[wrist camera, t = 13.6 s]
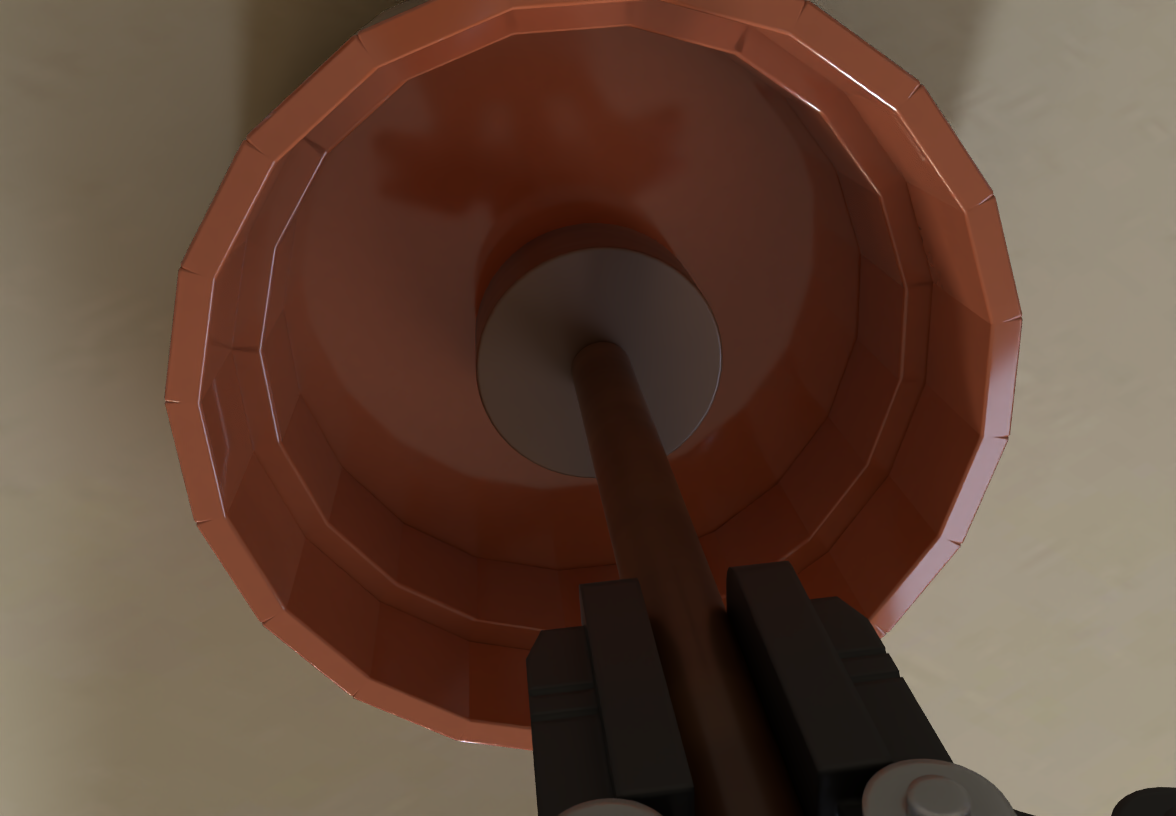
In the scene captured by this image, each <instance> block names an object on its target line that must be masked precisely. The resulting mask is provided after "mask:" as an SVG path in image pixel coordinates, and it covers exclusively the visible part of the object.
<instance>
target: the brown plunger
mask: <svg viewBox="0 0 1176 816" xmlns="http://www.w3.org/2000/svg"><path fill="white" fill-rule="evenodd" d="M475 353H476V380H477V386H478V391H479V395H480V398H481V401H482V404H483V407H484V410H485V412H486V414H487V416H488V418H489V420H490V422H491V423H492V425H493V426H494V427H495V429H496V430H497V432H498V433H499V435H500V436H501V437H502V438H503V439H504V440H505V441H506V442H507V443H508V444H509V445H510V446H511V447H512V448H513V449H514V450H516V451H517V452H518V453H519V454H520V455H522V456H523V457H525V458H527V459H528V460H530V461H531V462H533V463H535V464H537V465H539V466H541V467H543V468H546V469H548V470H551V471H554V472H557V473H560V474H563V475H569V476H574V477H582V478H596V480H597V484H598V488H599V492H600V496H601V501H602V505H603V509H604V513H605V518H606V522H607V526H608V530H609V534H610V539H611V543H612V547H613V551H614V556H615V560H616V564H617V568H618V572H619V577H620V580H621V579H629V578H638V580H639V583H640V587H641V590H642V594H643V598H644V602H645V605H646V609H647V613H648V617H649V620H650V624H651V628H652V631H653V635H654V639H655V643H656V646H657V650H658V654H659V658H660V661H661V665H662V669H663V673H664V676H665V680H666V684H667V687H668V691H669V695H670V699H671V702H672V706H673V710H674V714H675V717H676V721H677V725H678V729H679V732H680V736H681V740H682V743H683V747H684V751H685V755H686V758H687V762H688V766H689V770H690V773H691V777H692V781H693V784H694V797H695V816H805V815H804V812H803V810H802V807H801V804H800V802H799V799H798V797H797V794H796V791H795V789H794V786H793V784H792V781H791V778H790V776H789V773H788V771H787V768H786V765H785V763H784V760H783V758H782V755H781V752H780V750H779V747H778V745H777V742H776V739H775V737H774V734H773V732H772V729H771V726H770V724H769V721H768V719H767V716H766V713H765V711H764V708H763V706H762V703H761V700H760V698H759V695H758V693H757V690H756V687H755V685H754V682H753V680H752V677H751V674H750V672H749V669H748V667H747V664H746V661H745V659H744V656H743V654H742V651H741V648H740V646H739V643H738V641H737V638H736V635H735V633H734V630H733V628H732V625H731V622H730V620H729V617H728V615H727V611H726V609H725V606H724V604H723V601H722V598H721V596H720V593H719V591H718V588H717V585H716V583H715V580H714V578H713V575H712V572H711V570H710V567H709V565H708V562H707V559H706V557H705V554H704V552H703V549H702V546H701V544H700V541H699V539H698V536H697V534H696V531H695V528H694V526H693V523H692V521H691V518H690V515H689V513H688V510H687V508H686V505H685V502H684V500H683V497H682V495H681V492H680V489H679V487H678V484H677V482H676V479H675V476H674V474H673V471H672V469H671V466H670V463H669V461H668V458H667V456H668V455H669V454H671V453H672V452H674V451H675V450H676V449H678V448H679V447H680V446H681V445H682V444H683V443H684V442H685V441H686V440H687V439H689V438H690V436H691V435H692V434H693V433H694V432H695V430H696V429H697V428H698V427H699V426H700V424H701V422H702V421H703V419H704V418H705V416H706V415H707V413H708V411H709V409H710V407H711V405H712V403H713V401H714V399H715V396H716V393H717V390H718V387H719V383H720V378H721V372H722V360H723V352H722V341H721V336H720V332H719V327H718V324H717V321H716V319H715V316H714V314H713V311H712V309H711V308H710V306H709V304H708V302H707V300H706V299H705V297H704V295H703V294H702V292H701V291H700V289H699V288H698V286H697V285H696V283H695V282H694V280H693V279H692V277H691V276H690V274H689V273H688V272H687V270H686V269H685V268H684V266H683V265H682V264H681V262H680V261H679V260H678V259H677V258H676V257H675V256H674V255H673V254H672V253H671V252H670V251H669V250H668V249H667V248H665V247H664V246H663V245H661V244H660V243H659V242H657V241H656V240H654V239H652V238H650V237H648V236H647V235H645V234H643V233H640V232H638V231H635V230H633V229H630V228H626V227H622V226H618V225H613V224H604V223H582V224H576V225H570V226H565V227H562V228H558V229H555V230H552V231H550V232H547V233H545V234H543V235H540V236H538V237H536V238H535V239H533V240H531V241H530V242H528V243H526V244H525V245H523V246H522V247H521V248H520V249H518V250H517V251H516V252H515V253H513V254H512V255H511V256H510V257H509V258H508V259H507V260H506V261H505V262H504V263H503V264H502V266H501V267H500V268H499V270H498V271H497V272H496V274H495V275H494V276H493V278H492V280H491V281H490V283H489V285H488V287H487V289H486V290H485V293H484V295H483V298H482V301H481V303H480V307H479V311H478V315H477V320H476V330H475Z"/></svg>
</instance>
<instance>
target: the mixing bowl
mask: <svg viewBox="0 0 1176 816" xmlns="http://www.w3.org/2000/svg"><path fill="white" fill-rule="evenodd" d="M582 223H604V224H613V225H618V226H622V227H626V228H630V229H633V230H635V231H638V232H640V233H643V234H645V235H647V236H648V237H650V238H652V239H654V240H656V241H657V242H659V243H660V244H661V245H663V246H664V247H665V248H667V249H668V250H669V251H670V252H671V253H672V254H673V255H674V256H675V257H676V258H677V259H678V260H679V261H680V262H681V264H682V265H683V266H684V268H685V269H686V270H687V272H688V273H689V274H690V276H691V277H692V279H693V280H694V282H695V283H696V285H697V286H698V288H699V289H700V291H701V292H702V294H703V295H704V297H705V299H706V300H707V302H708V304H709V306H710V308H711V309H712V311H713V314H714V316H715V319H716V321H717V324H718V327H719V332H720V336H721V341H722V352H723V360H722V372H721V378H720V383H719V387H718V390H717V393H716V396H715V399H714V401H713V403H712V405H711V407H710V409H709V411H708V413H707V415H706V416H705V418H704V419H703V421H702V422H701V424H700V426H699V427H698V428H697V429H696V430H695V432H694V433H693V434H692V435H691V436H690V438H689V439H687V440H686V441H685V442H684V443H683V444H682V445H681V446H680V447H679V448H678V449H676V450H675V451H674V452H672V453H671V454H669V455H668V456H667V458H668V461H669V463H670V466H671V469H672V471H673V474H674V476H675V479H676V482H677V484H678V487H679V489H680V492H681V495H682V497H683V500H684V502H685V505H686V508H687V510H688V513H689V515H690V518H691V521H692V523H693V526H694V528H695V531H696V534H697V536H698V539H699V541H700V544H701V546H702V549H703V552H704V554H705V557H706V559H707V562H708V565H709V567H710V570H711V572H712V575H713V578H714V580H715V583H716V585H717V588H718V591H719V593H720V596H721V598H722V601H723V604H724V606H725V609H726V611H727V601H726V578H727V571H728V568H729V567H735V566H744V565H753V564H762V563H771V562H779V561H789V562H790V563H791V565H792V566H793V568H794V570H795V572H796V574H797V576H798V578H799V580H800V582H801V583H802V585H803V587H804V589H805V591H806V593H807V595H808V597H809V599H816V598H825V597H834V596H837V597H839V598H840V599H842V600H843V601H844V602H846V603H847V604H848V605H850V606H851V607H853V608H854V609H855V610H857V611H858V612H859V613H861V614H862V615H864V616H865V617H866V618H868V619H869V621H870V623H871V624H872V626H873V628H874V629H875V631H876V633H877V634H878V636H879V638H880V639H881V638H882V637H884V636H885V635H886V632H889V631H890V630H891V629H892V628H893V627H894V625H895V624H896V623H897V622H898V621H899V620H900V618H901V617H902V616H903V615H904V614H905V612H906V611H907V610H908V609H909V608H910V606H911V605H912V604H913V603H914V602H915V600H916V599H917V598H918V597H919V596H920V594H921V593H922V592H923V591H924V590H925V588H926V587H927V586H928V585H929V584H930V582H931V581H932V580H933V579H934V578H935V576H936V575H937V574H938V573H939V572H940V570H941V569H942V568H943V567H944V566H945V564H946V563H947V562H948V561H949V560H950V558H951V557H952V556H953V555H954V554H955V552H956V551H957V550H958V549H959V548H960V546H961V543H963V541H964V539H965V537H966V535H967V532H968V530H969V528H970V526H971V523H972V521H973V519H974V517H975V514H976V512H977V510H978V508H979V505H980V503H981V501H982V498H983V496H984V494H985V492H986V489H987V487H988V485H989V483H990V480H991V478H992V476H993V474H994V471H995V469H996V467H997V464H998V462H999V460H1000V458H1001V455H1002V453H1003V451H1004V449H1005V446H1006V444H1007V442H1008V436H1009V435H1010V430H1011V421H1012V411H1013V402H1014V393H1015V384H1016V375H1017V366H1018V357H1019V347H1020V338H1021V329H1022V317H1021V316H1022V311H1021V307H1020V303H1019V298H1018V294H1017V290H1016V285H1015V281H1014V276H1013V272H1012V268H1011V263H1010V259H1009V255H1008V250H1007V246H1006V242H1005V237H1004V233H1003V228H1002V224H1001V220H1000V215H999V211H998V207H997V202H996V198H995V196H994V195H993V190H992V189H991V187H990V186H989V184H988V183H987V181H986V180H985V178H984V177H983V175H982V174H981V172H980V171H979V169H978V167H977V166H976V164H975V163H974V161H973V160H972V158H971V157H970V155H969V154H968V152H967V151H966V149H965V148H964V146H963V145H962V143H961V141H960V140H959V138H958V137H957V135H956V134H955V132H954V131H953V129H952V128H951V126H950V125H949V123H948V122H947V120H946V119H945V117H944V115H943V114H942V112H941V111H940V109H939V108H938V106H937V105H936V103H935V102H934V100H933V99H932V97H931V96H930V94H929V93H928V91H927V90H926V88H925V86H924V85H922V84H920V82H919V80H918V79H916V78H915V77H914V76H912V75H911V74H910V73H908V72H907V71H905V70H904V69H903V68H901V67H900V66H899V65H897V64H896V63H895V62H893V61H892V60H890V59H889V58H888V57H886V56H885V55H884V54H882V53H881V52H879V51H878V50H877V49H875V48H874V47H873V46H871V45H870V44H868V43H867V42H866V41H864V40H863V39H862V38H860V37H859V36H858V35H856V34H855V33H853V32H852V31H851V30H849V29H848V28H847V27H845V26H844V25H842V24H841V23H840V22H838V21H837V20H836V19H834V18H833V17H831V16H830V15H829V14H827V13H826V12H825V11H823V10H822V9H820V8H819V7H818V6H816V5H815V4H814V3H812V2H811V1H808V0H407V1H405V2H403V3H400V4H398V5H396V6H394V7H391V8H389V9H387V10H384V11H383V12H382V13H381V14H379V15H377V16H376V17H375V18H374V19H372V20H371V21H370V22H369V23H368V24H366V25H365V26H364V27H362V28H361V29H360V30H359V31H357V32H356V33H355V34H354V35H352V36H351V37H350V38H349V39H348V40H347V41H346V42H345V43H344V44H343V45H342V46H341V47H340V48H339V49H337V50H336V51H335V52H334V53H333V54H332V55H331V56H330V57H329V58H328V59H327V60H326V61H325V62H324V63H323V64H322V65H320V66H319V67H318V68H317V69H316V70H315V71H314V72H313V73H312V74H311V75H310V76H309V77H308V78H307V79H306V80H304V81H303V82H302V83H301V84H300V85H299V86H298V87H297V88H296V89H295V90H294V91H293V92H292V93H291V94H290V95H289V96H287V97H286V98H285V99H284V100H283V101H282V102H281V103H280V104H279V105H278V106H277V107H276V108H275V109H274V110H273V111H272V112H270V113H269V114H268V115H267V116H266V117H265V118H264V119H263V120H262V121H261V122H260V123H259V124H258V125H257V126H256V127H255V128H253V129H252V130H251V131H250V132H249V133H248V134H247V136H246V138H245V139H244V140H243V141H242V142H241V144H240V146H239V148H238V150H237V152H236V154H235V156H234V158H233V160H232V162H231V164H230V166H229V168H228V170H227V172H226V174H225V176H224V178H223V180H222V182H221V184H220V186H219V188H218V190H217V192H216V194H215V196H214V198H213V200H212V202H211V204H210V206H209V208H208V210H207V212H206V214H205V216H204V218H203V220H202V222H201V224H200V226H199V228H198V230H197V232H196V234H195V236H194V238H193V240H192V242H191V244H190V246H189V248H188V249H187V251H186V253H185V255H184V257H183V259H182V261H181V267H180V268H179V270H178V277H177V287H176V296H175V305H174V314H173V323H172V332H171V341H170V350H169V359H168V368H167V377H166V386H165V395H164V398H165V400H166V401H165V406H166V410H167V414H168V418H169V422H170V426H171V430H172V434H173V438H174V442H175V446H176V450H177V454H178V458H179V462H180V466H181V470H182V474H183V478H184V482H185V486H186V490H187V494H188V498H189V502H190V506H191V510H192V514H193V518H194V521H195V522H196V524H197V527H198V528H199V530H200V531H201V533H202V535H203V536H204V538H205V539H206V541H207V542H208V544H209V545H210V547H211V548H212V550H213V551H214V553H215V554H216V556H217V557H218V559H219V560H220V562H221V563H222V565H223V567H224V568H225V570H226V571H227V573H228V574H229V576H230V577H231V579H232V580H233V582H234V583H235V585H236V586H237V588H238V589H239V591H240V592H241V594H242V595H243V597H244V598H245V600H246V602H247V603H248V605H249V606H250V608H251V609H252V611H253V612H254V614H255V615H256V617H257V618H258V620H259V621H260V622H262V624H263V626H264V627H265V628H267V629H268V630H269V631H270V632H272V633H273V634H274V635H275V636H277V637H278V638H279V639H280V640H282V641H283V642H284V643H285V644H287V645H288V646H289V647H290V648H292V649H293V650H294V651H295V652H297V653H298V654H299V655H300V656H302V657H303V658H304V659H305V660H306V661H308V662H309V663H310V664H311V665H313V666H314V667H315V668H316V669H318V670H319V671H320V672H321V673H323V674H324V675H325V676H326V677H328V678H329V679H330V680H331V681H333V682H334V683H335V684H336V685H338V686H339V687H340V688H341V689H343V690H344V691H345V692H346V693H348V694H349V695H350V696H353V698H354V699H357V700H359V701H362V702H364V703H366V704H369V705H371V706H374V707H376V708H379V709H381V710H383V711H386V712H388V713H391V714H393V715H396V716H398V717H400V718H403V719H405V720H408V721H410V722H413V723H415V724H417V725H420V726H422V727H425V728H427V729H430V730H432V731H434V732H437V733H439V734H442V735H444V736H447V737H449V738H451V739H454V740H456V741H459V740H460V741H462V742H469V743H477V744H485V745H492V746H500V747H508V748H516V749H524V750H532V751H533V745H532V732H531V719H530V707H529V694H528V682H527V670H526V658H527V656H528V654H529V652H530V650H531V648H532V646H533V645H534V643H535V641H536V639H537V637H538V635H539V633H540V631H541V630H550V629H558V628H567V627H575V626H582V623H581V611H580V599H579V584H586V583H594V582H603V581H612V580H620V577H619V572H618V568H617V564H616V560H615V556H614V551H613V547H612V543H611V539H610V534H609V530H608V526H607V522H606V518H605V513H604V509H603V505H602V501H601V496H600V492H599V488H598V484H597V480H596V478H582V477H574V476H569V475H563V474H560V473H557V472H554V471H551V470H548V469H546V468H543V467H541V466H539V465H537V464H535V463H533V462H531V461H530V460H528V459H527V458H525V457H523V456H522V455H520V454H519V453H518V452H517V451H516V450H514V449H513V448H512V447H511V446H510V445H509V444H508V443H507V442H506V441H505V440H504V439H503V438H502V437H501V436H500V435H499V433H498V432H497V430H496V429H495V427H494V426H493V425H492V423H491V422H490V420H489V418H488V416H487V414H486V412H485V410H484V407H483V404H482V401H481V398H480V395H479V391H478V386H477V380H476V353H475V330H476V320H477V315H478V311H479V307H480V303H481V301H482V298H483V295H484V293H485V290H486V289H487V287H488V285H489V283H490V281H491V280H492V278H493V276H494V275H495V274H496V272H497V271H498V270H499V268H500V267H501V266H502V264H503V263H504V262H505V261H506V260H507V259H508V258H509V257H510V256H511V255H512V254H513V253H515V252H516V251H517V250H518V249H520V248H521V247H522V246H523V245H525V244H526V243H528V242H530V241H531V240H533V239H535V238H536V237H538V236H540V235H543V234H545V233H547V232H550V231H552V230H555V229H558V228H562V227H565V226H570V225H576V224H582Z"/></svg>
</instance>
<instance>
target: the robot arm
mask: <svg viewBox="0 0 1176 816" xmlns="http://www.w3.org/2000/svg"><path fill="white" fill-rule="evenodd" d="M579 599H580V611H581V623H582V626H575V627H567V628H558V629H550V630H541V631H540V633H539V635H538V637H537V639H536V641H535V643H534V645H533V646H532V648H531V650H530V652H529V654H528V656H527V658H526V670H527V682H528V694H529V707H530V719H531V732H532V745H533V757H534V770H535V782H536V795H537V807H538V816H695V797H694V784H693V781H692V777H691V773H690V770H689V766H688V762H687V758H686V755H685V751H684V747H683V743H682V740H681V736H680V732H679V729H678V725H677V721H676V717H675V714H674V710H673V706H672V702H671V699H670V695H669V691H668V687H667V684H666V680H665V676H664V673H663V669H662V665H661V661H660V658H659V654H658V650H657V646H656V643H655V639H654V635H653V631H652V628H651V624H650V620H649V617H648V613H647V609H646V605H645V602H644V598H643V594H642V590H641V587H640V583H639V580H638V578H629V579H621V580H612V581H603V582H594V583H586V584H579ZM726 601H727V615H728V617H729V620H730V622H731V625H732V628H733V630H734V633H735V635H736V638H737V641H738V643H739V646H740V648H741V651H742V654H743V656H744V659H745V661H746V664H747V667H748V669H749V672H750V674H751V677H752V680H753V682H754V685H755V687H756V690H757V693H758V695H759V698H760V700H761V703H762V706H763V708H764V711H765V713H766V716H767V719H768V721H769V724H770V726H771V729H772V732H773V734H774V737H775V739H776V742H777V745H778V747H779V750H780V752H781V755H782V758H783V760H784V763H785V765H786V768H787V771H788V773H789V776H790V778H791V781H792V784H793V786H794V789H795V791H796V794H797V797H798V799H799V802H800V804H801V807H802V810H803V812H804V815H805V816H1034V815H1030V814H1027V813H1023V812H1020V811H1017V810H1015V809H1013V808H1012V806H1011V805H1010V803H1009V802H1008V800H1007V799H1006V798H1005V796H1004V795H1003V793H1002V792H1001V791H1000V790H999V789H998V788H997V787H996V786H995V785H994V784H992V783H991V782H990V781H988V780H987V779H986V778H984V777H983V776H981V775H979V774H977V773H976V772H974V771H972V770H970V769H967V768H965V767H963V766H960V765H957V764H954V763H953V761H952V760H951V758H950V756H949V755H948V753H947V751H946V750H945V748H944V746H943V745H942V743H941V741H940V739H939V738H938V736H937V734H936V733H935V731H934V729H933V728H932V726H931V724H930V723H929V721H928V719H927V717H926V716H925V714H924V712H923V711H922V709H921V707H920V706H919V704H918V702H917V701H916V699H915V697H914V695H913V694H912V692H911V690H910V689H909V687H908V685H907V684H906V682H905V680H904V679H903V677H900V675H899V670H898V668H897V667H896V665H895V663H894V662H893V660H892V658H891V656H890V655H889V653H887V654H886V651H885V646H884V645H883V643H882V641H881V640H880V638H879V636H878V634H877V633H876V631H875V629H874V628H873V626H872V624H871V623H870V621H869V619H868V618H866V617H865V616H864V615H862V614H861V613H859V612H858V611H857V610H855V609H854V608H853V607H851V606H850V605H848V604H847V603H846V602H844V601H843V600H842V599H840V598H839V597H837V596H834V597H825V598H816V599H809V597H808V595H807V593H806V591H805V589H804V587H803V585H802V583H801V582H800V580H799V578H798V576H797V574H796V572H795V570H794V568H793V566H792V565H791V563H790V562H789V561H779V562H771V563H762V564H753V565H744V566H735V567H729V568H728V571H727V578H726ZM1111 816H1176V788H1171V787H1156V788H1147V789H1143V790H1139V791H1135V792H1133V793H1131V794H1129V795H1127V796H1125V797H1124V798H1123V799H1122V800H1120V801H1119V802H1118V804H1117V805H1116V806H1115V808H1114V809H1113V812H1112V815H1111Z"/></svg>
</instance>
